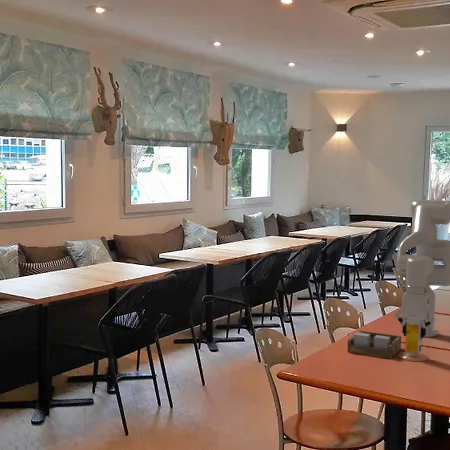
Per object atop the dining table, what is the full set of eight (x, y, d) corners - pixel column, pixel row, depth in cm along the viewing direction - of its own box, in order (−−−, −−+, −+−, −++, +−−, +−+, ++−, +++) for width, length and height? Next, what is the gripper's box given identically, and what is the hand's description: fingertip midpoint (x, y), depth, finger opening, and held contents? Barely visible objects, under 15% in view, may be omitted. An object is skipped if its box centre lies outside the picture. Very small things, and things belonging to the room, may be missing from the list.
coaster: (401, 351, 248) (401, 350, 248) (430, 355, 243) (430, 354, 243) (395, 358, 239) (395, 357, 239) (424, 363, 234) (424, 361, 233)
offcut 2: (375, 352, 247) (376, 334, 247) (389, 354, 245) (390, 336, 244) (373, 354, 244) (373, 337, 243) (387, 356, 241) (388, 339, 241)
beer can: (408, 349, 245) (410, 312, 244) (423, 352, 241) (425, 314, 240) (402, 352, 241) (403, 314, 239) (417, 355, 237) (419, 317, 235)
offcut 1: (356, 349, 251) (356, 332, 250) (369, 351, 248) (370, 334, 248) (353, 351, 248) (353, 334, 247) (366, 353, 245) (367, 336, 244)
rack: (359, 342, 261) (360, 330, 261) (400, 348, 253) (401, 336, 253) (347, 352, 247) (347, 339, 246) (390, 358, 239) (391, 345, 238)
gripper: (440, 291, 238) (438, 337, 240) (395, 286, 246) (393, 331, 248) (437, 294, 232) (435, 341, 233) (390, 289, 240) (389, 335, 241)
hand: (413, 336), depth 240 cm, fingers closed on beer can, 5 cm apart
